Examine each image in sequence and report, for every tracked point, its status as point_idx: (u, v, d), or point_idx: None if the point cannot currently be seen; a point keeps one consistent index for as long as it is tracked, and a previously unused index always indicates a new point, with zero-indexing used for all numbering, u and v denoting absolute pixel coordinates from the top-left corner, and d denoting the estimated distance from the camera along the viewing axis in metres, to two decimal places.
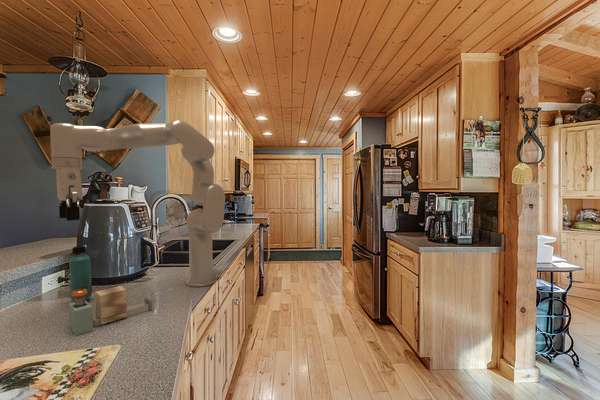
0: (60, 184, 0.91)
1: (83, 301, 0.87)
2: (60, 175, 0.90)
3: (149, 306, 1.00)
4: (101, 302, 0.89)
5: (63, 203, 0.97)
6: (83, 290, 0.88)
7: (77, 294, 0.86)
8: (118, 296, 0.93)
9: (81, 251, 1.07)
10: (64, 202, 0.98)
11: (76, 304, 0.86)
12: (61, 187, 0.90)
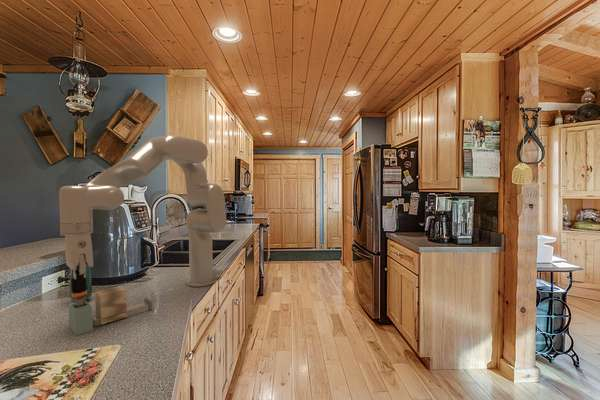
0: (69, 253, 0.83)
1: (83, 302, 0.87)
2: (70, 243, 0.83)
3: (149, 306, 1.00)
4: (101, 302, 0.89)
5: None
6: None
7: (77, 295, 0.86)
8: (118, 296, 0.93)
9: None
10: None
11: (76, 305, 0.86)
12: (70, 256, 0.83)
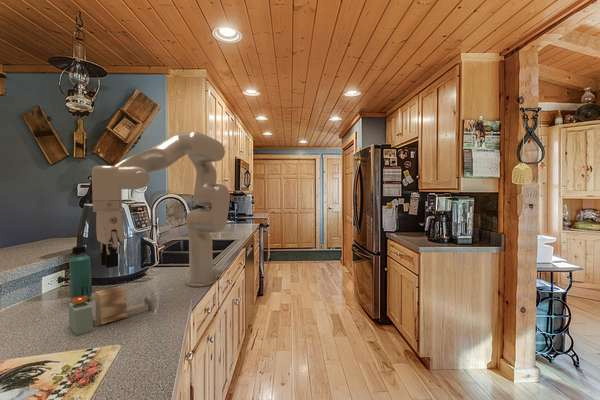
0: (102, 228, 0.89)
1: None
2: (102, 218, 0.88)
3: (149, 306, 1.00)
4: (101, 302, 0.89)
5: (105, 248, 0.94)
6: (83, 297, 0.88)
7: (77, 301, 0.86)
8: (118, 296, 0.93)
9: (81, 251, 1.07)
10: (105, 247, 0.94)
11: None
12: (103, 231, 0.88)
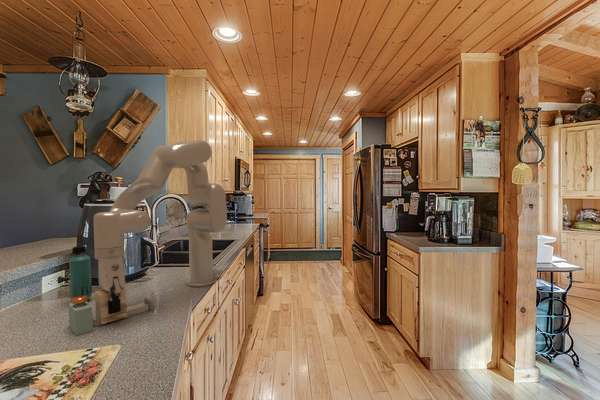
0: (104, 275, 0.90)
1: None
2: (104, 266, 0.89)
3: (149, 306, 1.00)
4: (101, 302, 0.89)
5: None
6: (83, 297, 0.88)
7: (77, 301, 0.86)
8: None
9: (81, 251, 1.07)
10: None
11: None
12: (105, 279, 0.89)
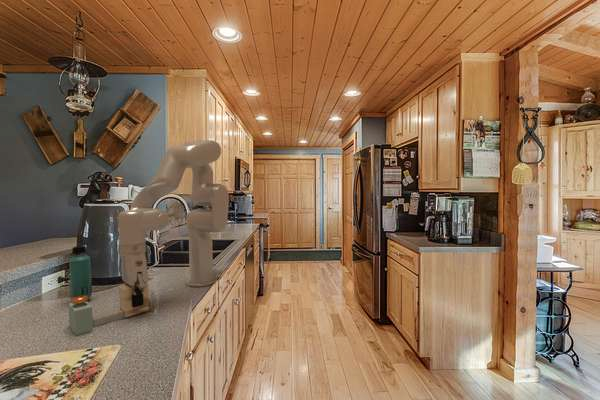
0: (128, 270, 0.94)
1: None
2: (129, 262, 0.94)
3: (149, 306, 1.00)
4: (126, 296, 0.94)
5: None
6: (83, 297, 0.88)
7: (77, 301, 0.86)
8: None
9: (81, 251, 1.07)
10: None
11: None
12: (129, 274, 0.94)
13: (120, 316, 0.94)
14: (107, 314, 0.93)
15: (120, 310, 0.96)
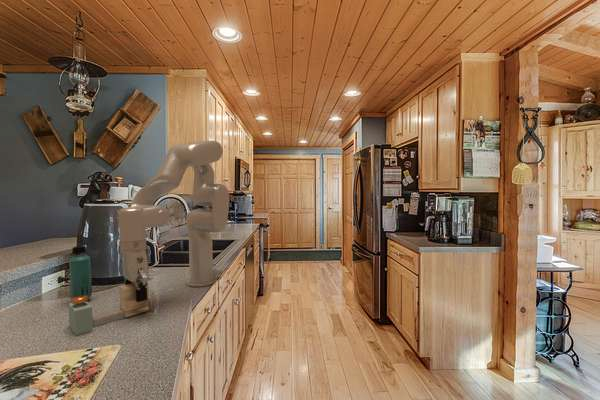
0: (129, 267, 0.95)
1: None
2: (129, 259, 0.94)
3: (149, 306, 1.00)
4: (126, 296, 0.94)
5: (128, 279, 1.02)
6: (83, 297, 0.88)
7: (77, 301, 0.86)
8: None
9: (81, 251, 1.07)
10: None
11: None
12: (130, 270, 0.94)
13: (120, 316, 0.94)
14: (107, 314, 0.93)
15: (120, 310, 0.96)
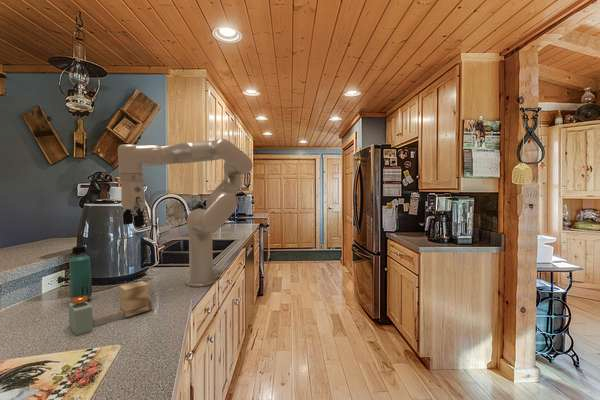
0: (128, 196, 1.07)
1: None
2: (128, 188, 1.07)
3: (149, 306, 1.00)
4: (126, 296, 0.94)
5: (126, 211, 1.14)
6: (83, 297, 0.88)
7: (77, 301, 0.86)
8: (141, 290, 0.98)
9: (81, 251, 1.07)
10: (126, 210, 1.14)
11: None
12: (129, 198, 1.07)
13: (120, 316, 0.94)
14: (107, 314, 0.93)
15: (120, 310, 0.96)
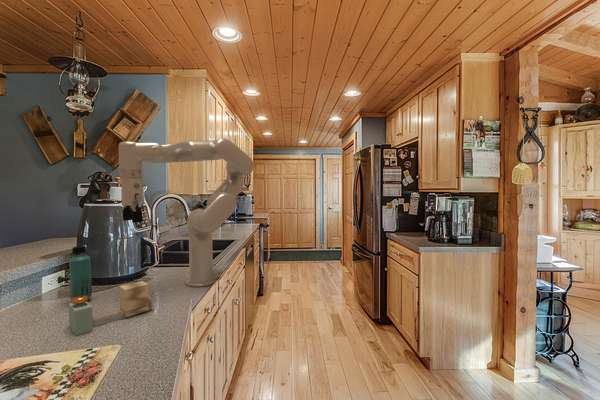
0: (127, 192, 1.09)
1: None
2: (127, 184, 1.09)
3: (149, 306, 1.00)
4: (126, 296, 0.94)
5: (126, 208, 1.16)
6: (83, 297, 0.88)
7: (77, 301, 0.86)
8: (141, 290, 0.98)
9: (81, 251, 1.07)
10: (126, 207, 1.16)
11: None
12: (128, 195, 1.09)
13: (120, 316, 0.94)
14: (107, 314, 0.93)
15: (120, 310, 0.96)
